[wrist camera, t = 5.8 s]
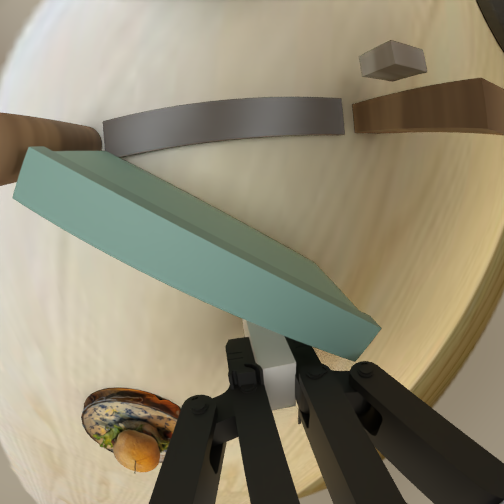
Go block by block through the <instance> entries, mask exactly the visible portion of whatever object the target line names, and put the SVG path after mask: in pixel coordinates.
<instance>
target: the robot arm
mask: <svg viewBox="0 0 504 504" xmlns="http://www.w3.org/2000/svg"><path fill="white" fill-rule="evenodd" d="M477 1H478V4H479V6H480V8H481V10H482V13H483V15H484V17H485V19H486V21H487V23H488V25H489V27H490V28H491V30H492V32H493V34H494V36H495V37H496V39H497V41H498V43H499V44H500V46H501V48H502V49H503V51H504V0H477ZM242 321H243V329H244V334H245V337H244V338H237V339H230V340H228V342H227V345H226V354H227V361H228V368H229V373H228V377H229V382H230V386H229V388H228V390H227V391H226V392H225V393H223V394H222V395H220V396H217V397H215V398H211V397H209V396H206V395H195V396H192V397H190V398H188V399H187V400H186V401H185V402H184V404H183V405H182V408H181V411H180V414H179V417H178V419H177V422H176V425H175V428H174V431H173V434H172V437H171V440H170V442H169V445H168V448H167V451H166V454H165V457H164V460H163V463H162V466H161V469H160V472H159V475H158V478H157V481H156V484H155V487H154V490H153V493H152V496H151V499H150V502H149V504H215V501H216V496H217V490H218V485H219V480H220V474H221V469H222V464H223V458H224V453H225V447H226V442H227V441H229V440H232V439H234V438H236V437H239V442H240V448H241V454H242V460H243V465H244V471H245V476H246V481H247V486H248V492H249V497H250V502H251V504H300V502H299V499H298V496H297V493H296V490H295V486H294V483H293V480H292V477H291V474H290V470H289V467H288V464H287V461H286V457H285V454H284V451H283V447H282V444H281V441H280V437H279V434H278V430H277V427H276V424H275V420H274V417H273V413H272V410H277V409H282V408H287V407H291V406H296V401H297V404H298V406H299V410H298V424H301V421H302V424H303V427H304V429H305V432H306V435H307V437H308V440H309V442H310V445H311V448H312V450H313V453H314V455H315V458H316V460H317V463H318V466H319V468H320V471H321V473H322V476H323V478H324V481H325V484H326V486H327V489H328V491H329V493H330V496H331V499H332V501H333V504H407V503H406V502H405V500H404V499H403V497H402V495H401V494H400V492H399V490H398V488H397V486H396V484H395V483H394V481H393V479H392V477H391V475H390V474H389V472H388V470H387V468H386V467H385V465H384V463H383V461H382V459H381V457H380V456H379V454H378V452H377V450H376V449H375V447H376V448H377V449H378V450H379V451H380V452H381V453H382V454H383V455H384V456H385V457H386V458H387V459H388V460H389V461H390V462H391V463H392V464H393V465H394V466H395V467H396V468H397V469H398V470H399V471H400V472H401V473H402V474H403V475H404V476H405V477H406V478H407V479H408V480H409V481H411V483H413V484H414V485H415V486H416V487H417V488H418V489H419V490H420V491H421V492H422V493H423V494H424V495H425V496H427V497H428V498H429V499H430V500H431V501H432V502H433V503H434V504H504V463H502V462H501V461H500V460H498V459H497V458H496V457H494V456H493V455H492V454H491V453H489V452H488V451H487V450H485V449H484V448H483V447H481V446H480V445H479V444H477V443H476V442H475V441H474V440H472V439H471V438H470V437H468V436H467V435H465V434H464V433H463V432H462V431H460V430H459V429H458V428H456V427H455V426H454V425H453V424H451V423H450V422H449V421H448V420H446V419H445V418H444V417H442V416H441V415H440V414H438V413H437V412H436V411H435V410H433V409H432V408H431V407H430V406H428V405H427V404H426V403H425V402H423V401H422V400H421V399H419V398H418V397H417V396H416V395H414V394H413V393H412V392H410V391H409V390H408V389H407V388H405V387H404V386H403V385H402V384H400V383H399V382H398V381H397V380H395V379H394V378H393V377H391V376H390V375H389V374H388V373H386V372H385V371H384V370H383V369H381V368H380V367H379V366H378V365H376V364H374V363H372V362H368V361H363V362H358V363H356V364H354V365H353V366H352V367H351V370H350V371H333V370H331V369H330V368H329V367H328V366H326V365H324V364H322V363H321V362H320V360H319V358H318V357H317V355H316V353H315V351H314V349H313V348H312V346H310V345H307V344H304V343H302V342H299V341H296V340H294V339H291V338H289V337H286V336H284V335H281V334H279V333H276V332H274V331H271V330H269V329H266V328H264V327H261V326H259V325H256V324H254V323H252V322H249V321H247V320H244V319H242ZM374 446H375V447H374Z"/></svg>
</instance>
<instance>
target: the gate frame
mask: <svg viewBox="0 0 504 504" xmlns="http://www.w3.org/2000/svg"><path fill="white" fill-rule="evenodd" d="M359 60H360V66H361V73H362V77H368V78H375V79H381V80H387V81H392V82H393V81H396V80H399V79H403V78H406V77H410V76H414V75H418V74H422V73H426V72H427V67H426V62H425V57H424V52H423V50H422V49H419V48H416V47H413V46H410V45H406V44H403V43H399V42H396V41H392V40H390V41H388V42H386V43H384V44H382V45H380V46H378V47H376V48H374V49H372V50H370V51H368V52H366V53H364V54H363V55H361V56H359ZM352 107H353V117H354V128H355V133H377V134H380V133H402V132H462V133H482V134H496V135H504V89H502V88H500V87H499V86H497V85H495V84H493V83H491V82H489V81H487V80H485V79H483V78H476V79H468V80H461V81H454V82H448V83H442V84H436V85H430V86H425V87H420V88H415V89H411V90H406V91H402V92H397V93H393V94H389V95H385V96H381V97H377V98H373V99H369V100H366V101H362V102H358V103H355V104H352ZM103 132H104V143H105V151H107V152H109V153H111V154H113V155H115V156H117V157H119V158H120V157H124V156H129V155H134V154H139V153H144V152H149V151H155V150H160V149H166V148H172V147H179V146H185V145H192V144H200V143H207V142H216V141H225V140H235V139H246V138H259V137H274V136H297V135H344V134H345V131H344V119H343V109H342V100H341V98H323V97H263V98H244V99H230V100H219V101H210V102H201V103H193V104H186V105H179V106H173V107H167V108H161V109H156V110H151V111H145V112H141V113H136V114H131V115H127V116H123V117H118V118H114V119H110V120H107V121H103ZM35 146H44V147H46V148H48V149H50V150H52V151H101V147H102V143H101V138H100V136H99V134H98V132H97V131H96V130H95V129H93V128H91V127H87V126H82V125H77V124H72V123H67V122H61V121H56V120H50V119H44V118H37V117H31V116H23V115H16V114H8V113H0V186H2V185H6V184H10V183H14V182H17V180H18V177H19V174H20V170H21V167H22V164H23V161H24V158H25V156H26V153H27V150H28V147H35Z"/></svg>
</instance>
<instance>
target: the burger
mask: <svg viewBox="0 0 504 504" xmlns="http://www.w3.org/2000/svg"><path fill="white" fill-rule="evenodd" d="M179 414H180V408H179V407H178V406H177V405H176V404H172V403H171V402H170V401H168V400H158V398H156V395H154V394H151V393H147V392H144V391H139V390H134V389H124V388H112V389H111V388H108V389H104V390H99V391H97V392H95V393H93V394H91V395H90V396H89V397H88V398H87V399H86V401H85V403H84V410H83V412H82V416H81V418H82V425H83V427H84V428H85V430H86V432H87V434H88V435H90V437H91V438H92V439H93V440H95V441H96V442H97V443H98V444H100V447H104V448H105V449H107V450H109V451H111V452H113V453H114V455H115V457H116V459H117V460H118V462H119V463H120V464H122V465H123V466H124V467H126V468H128V469H130V470H133V471H137V472H148V471H151V470H153V469H154V468H155V467H156V466H157V465H158V463H163V460H164V457H165V454H166V451H167V448H168V445H169V442H170V440H171V437H172V434H173V431H174V428H175V425H176V422H177V419H178V417H179ZM134 473H135V472H134Z"/></svg>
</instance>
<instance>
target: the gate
mask: <svg viewBox="0 0 504 504" xmlns="http://www.w3.org/2000/svg"><path fill="white" fill-rule="evenodd" d="M13 199H15V200H16V201H18V202H19V203H21V204H22V205H24V206H26V207H27V208H29V209H30V210H32V211H34V212H35V213H37V214H38V215H40V216H42V217H43V218H45V219H47V220H48V221H50V222H52V223H53V224H55V225H57V226H58V227H60V228H62V229H64V230H65V231H67V232H69V233H70V234H72V235H74V236H76V237H77V238H79V239H81V240H83V241H85V242H86V243H88V244H90V245H92V246H94V247H95V248H97V249H99V250H101V251H103V252H105V253H106V254H108V255H110V256H112V257H114V258H116V259H118V260H120V261H121V262H123V263H125V264H127V265H129V266H131V267H133V268H135V269H137V270H139V271H141V272H143V273H145V274H147V275H149V276H151V277H153V278H155V279H157V280H159V281H161V282H163V283H165V284H167V285H169V286H171V287H173V288H176V289H178V290H180V291H182V292H184V293H186V294H188V295H190V296H193V297H195V298H197V299H199V300H201V301H203V302H206V303H208V304H210V305H212V306H215V307H217V308H219V309H221V310H224V311H226V312H228V313H230V314H233V315H235V316H237V317H240V318H242V319H244V320H247V321H249V322H252V323H254V324H256V325H259V326H261V327H264V328H266V329H269V330H271V331H274V332H276V333H279V334H281V335H284V336H286V337H289V338H291V339H294V340H296V341H299V342H302V343H304V344H307V345H310V346H312V347H315V348H318V349H320V350H323V351H326V352H329V353H331V354H334V355H337V356H340V357H343V358H346V359H348V360H351V361H354V362H355V361H356V360H357V359H358V358H359V356H360V355H361V354H362V353H363V352H364V350H365V349H366V348H367V347H368V345H369V344H370V343H371V341H372V340H373V339H374V338H375V336H376V335H377V334H378V332H379V331H380V330H381V327H380V326H379V325H378V324H377V323H376V322H375V321H374V320H373V319H372V318H371V317H370V316H369V315H367V314H365V313H363V312H361V311H359V310H358V309H357V308H356V307H355V306H354V305H353V303H352V302H351V301H350V300H349V299H348V298H347V297H346V296H345V295H344V294H343V293H342V292H341V291H340V289H339V288H338V287H337V286H336V285H335V284H334V283H333V282H332V281H331V280H330V279H329V278H328V277H327V276H326V275H325V273H324V272H323V271H322V270H321V269H320V268H319V267H318V266H317V265H316V264H315V263H314V262H312V261H311V260H309V259H307V258H305V257H303V256H302V255H300V254H298V253H296V252H295V251H293V250H291V249H289V248H287V247H286V246H284V245H282V244H280V243H278V242H277V241H275V240H273V239H271V238H269V237H268V236H266V235H264V234H262V233H260V232H258V231H257V230H255V229H253V228H251V227H249V226H248V225H246V224H244V223H242V222H240V221H238V220H236V219H235V218H233V217H231V216H229V215H227V214H225V213H224V212H222V211H220V210H218V209H216V208H214V207H212V206H211V205H209V204H207V203H205V202H203V201H201V200H199V199H197V198H196V197H194V196H192V195H190V194H188V193H186V192H184V191H182V190H180V189H179V188H177V187H175V186H173V185H171V184H169V183H167V182H165V181H163V180H161V179H159V178H158V177H156V176H154V175H152V174H150V173H148V172H146V171H144V170H142V169H140V168H138V167H136V166H134V165H132V164H130V163H129V162H127V161H125V160H123V159H121V158H119V157H117V156H115V155H113V154H111V153H109V152H107V151H52V150H50V149H48V148H46V147H44V146H35V147H28V150H27V153H26V156H25V158H24V161H23V164H22V167H21V170H20V174H19V177H18V180H17V183H16V187H15V190H14V194H13Z"/></svg>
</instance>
